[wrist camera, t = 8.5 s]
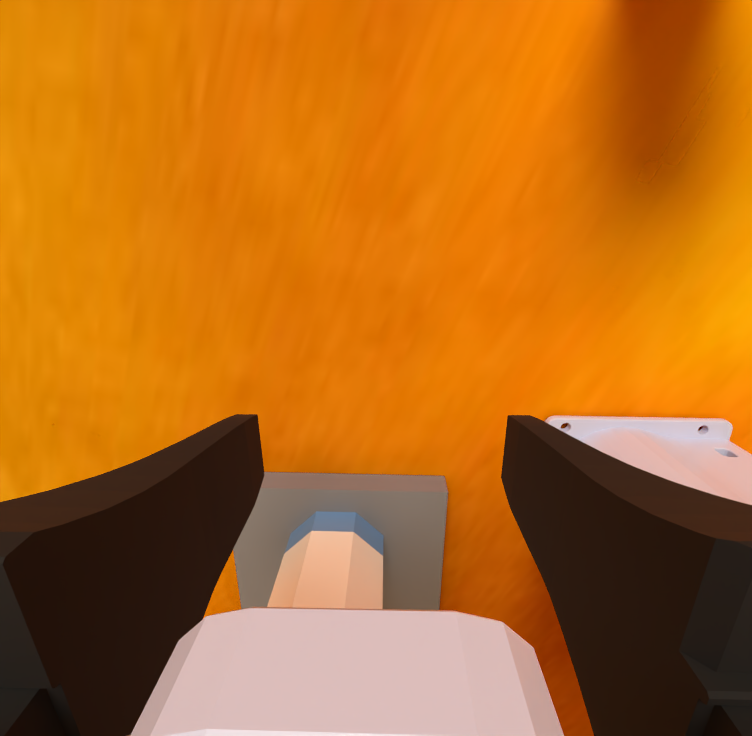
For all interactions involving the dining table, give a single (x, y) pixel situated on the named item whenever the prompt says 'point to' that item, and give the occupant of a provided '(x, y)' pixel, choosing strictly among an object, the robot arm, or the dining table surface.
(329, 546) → the sleeve
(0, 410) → the dining table surface
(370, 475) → the pin board
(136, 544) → the robot arm
